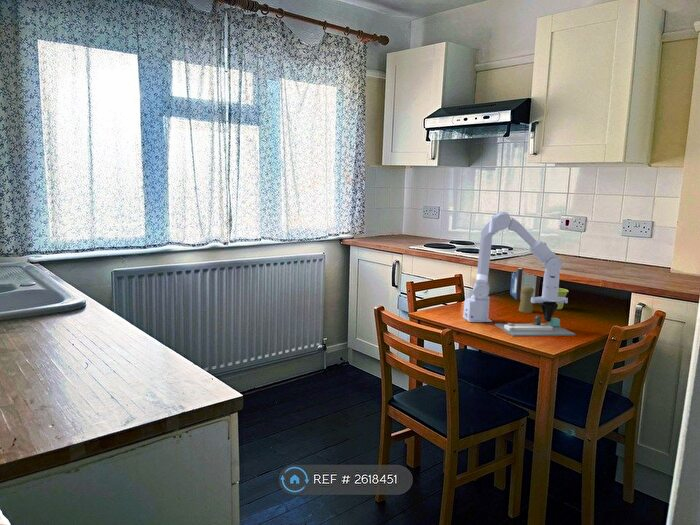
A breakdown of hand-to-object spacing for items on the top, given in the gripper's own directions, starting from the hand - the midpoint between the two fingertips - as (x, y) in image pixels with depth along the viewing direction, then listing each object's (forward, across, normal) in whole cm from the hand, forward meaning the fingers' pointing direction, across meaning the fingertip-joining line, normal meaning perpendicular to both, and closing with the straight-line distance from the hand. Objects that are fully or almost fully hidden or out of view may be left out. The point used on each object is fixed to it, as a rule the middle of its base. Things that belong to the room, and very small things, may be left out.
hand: (547, 321), depth 205 cm
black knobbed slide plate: (+2, -9, -4) cm, 10 cm away
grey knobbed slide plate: (+2, -8, -4) cm, 9 cm away
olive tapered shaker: (+3, +5, +25) cm, 26 cm away
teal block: (+2, +2, -1) cm, 4 cm away
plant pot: (+3, +23, +31) cm, 39 cm away
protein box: (+3, +19, +53) cm, 56 cm away
